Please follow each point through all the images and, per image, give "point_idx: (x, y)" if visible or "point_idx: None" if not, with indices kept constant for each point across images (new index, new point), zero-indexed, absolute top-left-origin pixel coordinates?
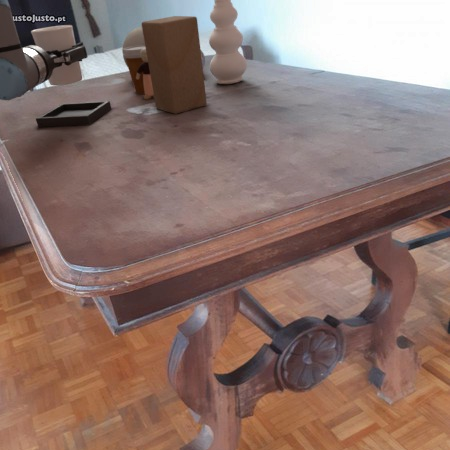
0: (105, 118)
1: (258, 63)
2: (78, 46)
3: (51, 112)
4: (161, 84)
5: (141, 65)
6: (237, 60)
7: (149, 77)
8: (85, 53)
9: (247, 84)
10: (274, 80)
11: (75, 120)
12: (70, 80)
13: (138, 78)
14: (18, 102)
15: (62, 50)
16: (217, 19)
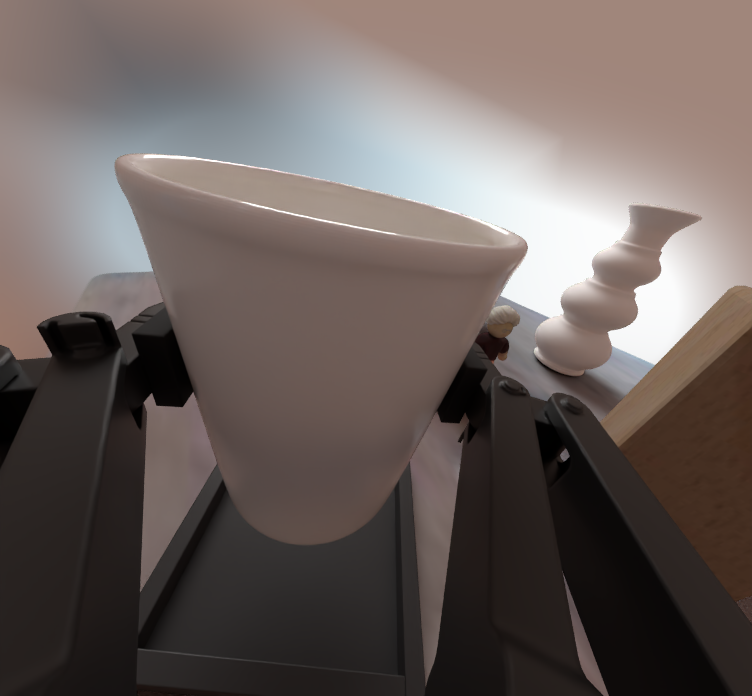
0: (440, 587)
1: (519, 305)
2: (517, 381)
3: (204, 516)
4: (691, 522)
5: (483, 341)
6: (611, 348)
7: None
8: (565, 447)
9: (602, 384)
10: (630, 381)
11: None
12: (371, 518)
13: None
14: (114, 311)
15: (519, 521)
16: (634, 276)
